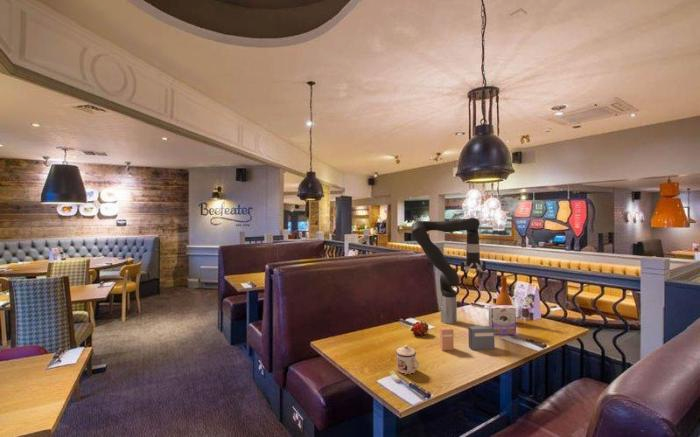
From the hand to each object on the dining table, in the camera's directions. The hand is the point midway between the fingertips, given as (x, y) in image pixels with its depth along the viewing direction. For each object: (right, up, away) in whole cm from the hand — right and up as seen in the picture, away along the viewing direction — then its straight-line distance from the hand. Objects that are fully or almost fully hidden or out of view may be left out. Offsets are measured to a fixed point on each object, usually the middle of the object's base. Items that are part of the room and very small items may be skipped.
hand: (473, 278), depth 193 cm
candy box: (+17, -33, 0) cm, 37 cm away
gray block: (-3, -34, -19) cm, 39 cm away
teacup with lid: (-46, -36, -43) cm, 72 cm away
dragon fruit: (-32, -34, +1) cm, 47 cm away
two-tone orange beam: (-22, -34, -20) cm, 45 cm away
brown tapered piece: (+27, -32, +19) cm, 46 cm away
